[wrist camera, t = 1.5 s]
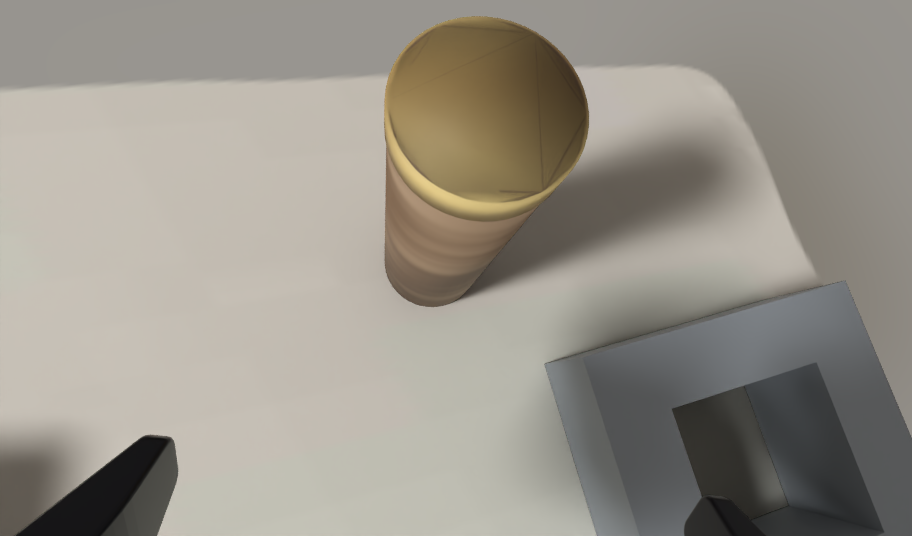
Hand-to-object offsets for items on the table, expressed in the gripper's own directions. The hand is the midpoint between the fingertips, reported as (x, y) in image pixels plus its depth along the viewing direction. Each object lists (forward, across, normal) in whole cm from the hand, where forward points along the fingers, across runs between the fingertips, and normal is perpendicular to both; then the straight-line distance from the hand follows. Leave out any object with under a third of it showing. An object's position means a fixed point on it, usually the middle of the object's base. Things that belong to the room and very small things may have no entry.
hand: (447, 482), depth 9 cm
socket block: (+9, -12, +9) cm, 18 cm away
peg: (+14, 0, +4) cm, 15 cm away
